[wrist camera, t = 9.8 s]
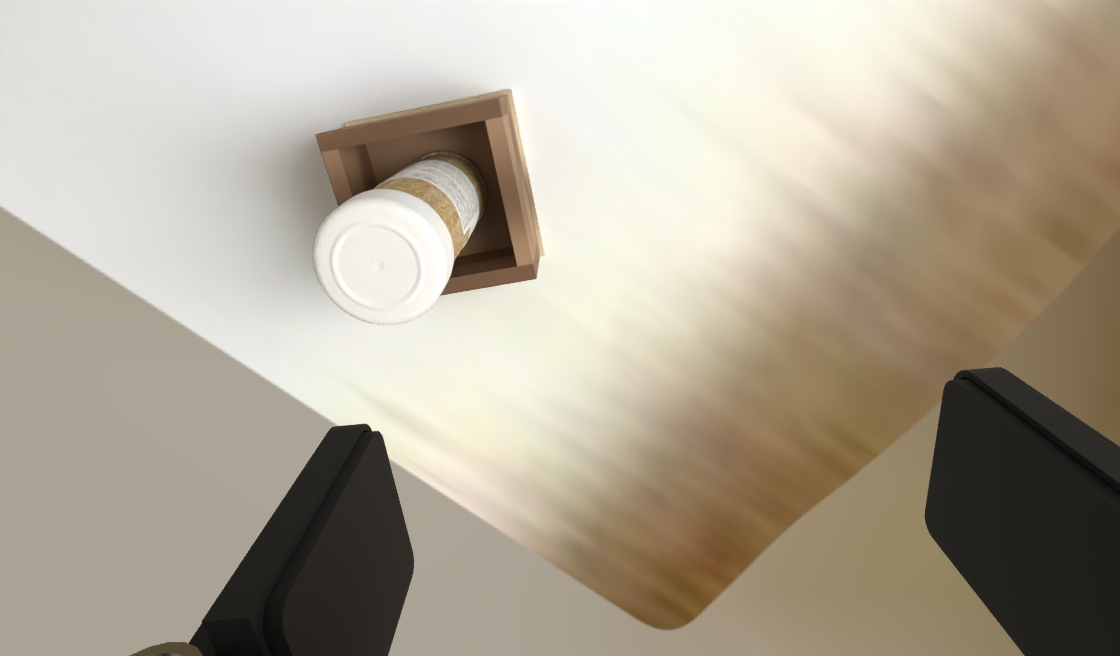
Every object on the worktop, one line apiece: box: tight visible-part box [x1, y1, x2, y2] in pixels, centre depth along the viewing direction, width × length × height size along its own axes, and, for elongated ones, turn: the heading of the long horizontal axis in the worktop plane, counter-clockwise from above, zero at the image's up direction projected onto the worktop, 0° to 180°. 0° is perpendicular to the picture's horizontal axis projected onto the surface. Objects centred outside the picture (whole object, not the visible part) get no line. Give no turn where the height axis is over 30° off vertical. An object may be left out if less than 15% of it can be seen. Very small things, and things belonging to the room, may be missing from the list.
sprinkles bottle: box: [313, 151, 487, 325], centre depth 27 cm, size 5×5×14 cm
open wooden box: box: [316, 90, 544, 295], centre depth 31 cm, size 9×9×5 cm
